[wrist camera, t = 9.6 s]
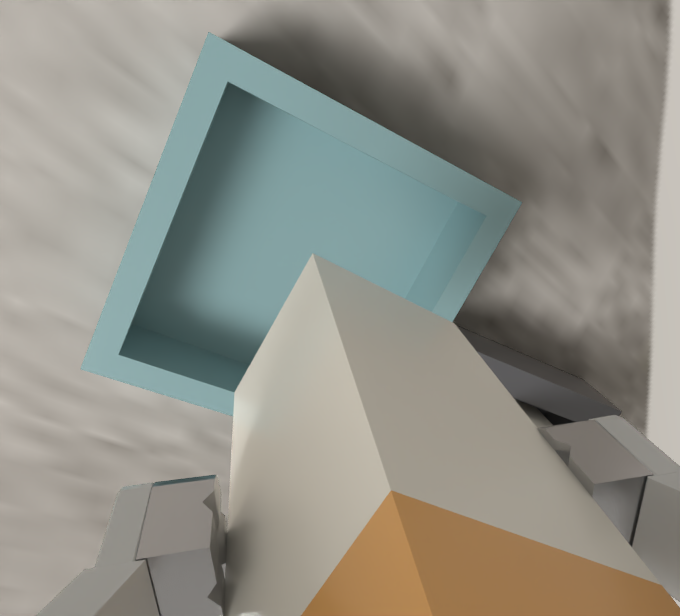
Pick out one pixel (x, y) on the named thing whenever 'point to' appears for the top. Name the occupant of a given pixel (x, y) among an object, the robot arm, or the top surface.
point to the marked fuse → (405, 477)
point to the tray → (277, 227)
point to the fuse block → (542, 384)
